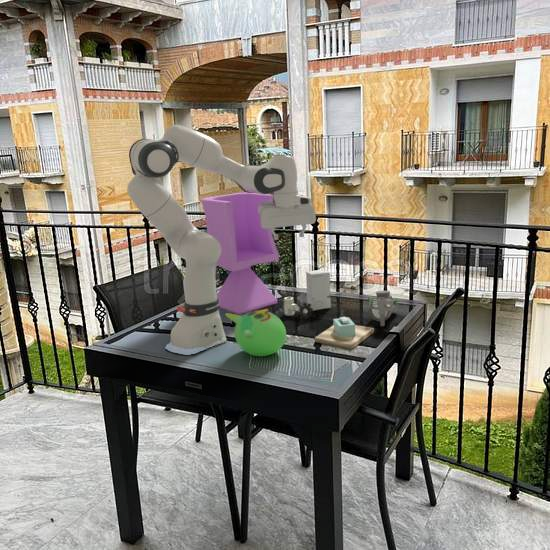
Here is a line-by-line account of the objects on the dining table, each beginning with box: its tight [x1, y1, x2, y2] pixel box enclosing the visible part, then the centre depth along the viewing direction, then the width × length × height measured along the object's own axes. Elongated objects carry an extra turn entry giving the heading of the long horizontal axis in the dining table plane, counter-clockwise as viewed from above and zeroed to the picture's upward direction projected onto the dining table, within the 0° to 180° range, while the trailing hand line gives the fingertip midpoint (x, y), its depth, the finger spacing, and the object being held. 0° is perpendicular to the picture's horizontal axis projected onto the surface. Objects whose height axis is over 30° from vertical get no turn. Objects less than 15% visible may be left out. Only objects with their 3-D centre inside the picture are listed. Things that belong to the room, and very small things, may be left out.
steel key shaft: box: [339, 316, 349, 325], centre depth 181 cm, size 4×2×5 cm, turn 9°
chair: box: [200, 192, 280, 316], centre depth 219 cm, size 22×22×45 cm
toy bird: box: [224, 308, 287, 357], centre depth 172 cm, size 18×17×15 cm
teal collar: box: [333, 316, 356, 338], centre depth 181 cm, size 7×5×4 cm
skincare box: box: [305, 269, 332, 312], centre depth 212 cm, size 8×6×15 cm
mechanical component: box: [367, 297, 398, 327], centre depth 189 cm, size 3×10×10 cm, turn 59°
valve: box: [283, 296, 313, 321], centre depth 205 cm, size 7×7×12 cm
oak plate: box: [314, 324, 375, 350], centre depth 182 cm, size 16×14×2 cm
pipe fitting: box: [368, 290, 399, 322], centre depth 198 cm, size 12×8×10 cm
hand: (289, 238), depth 195 cm, fingers open, 8 cm apart
